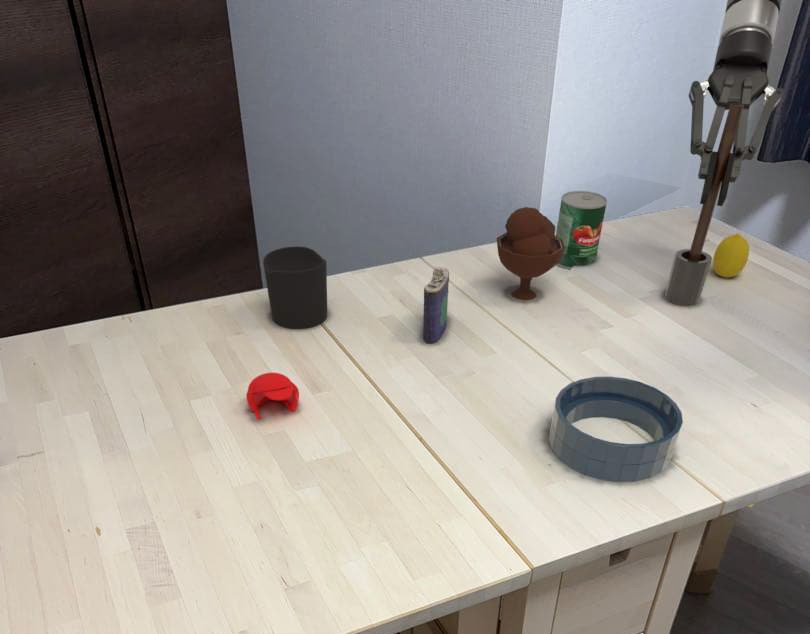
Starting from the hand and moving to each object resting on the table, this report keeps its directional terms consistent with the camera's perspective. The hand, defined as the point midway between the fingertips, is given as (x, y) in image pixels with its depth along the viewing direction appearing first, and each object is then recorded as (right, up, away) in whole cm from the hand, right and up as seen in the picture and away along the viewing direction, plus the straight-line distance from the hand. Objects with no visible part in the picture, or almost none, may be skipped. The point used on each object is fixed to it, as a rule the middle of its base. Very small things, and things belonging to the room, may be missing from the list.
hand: (713, 200), depth 110 cm
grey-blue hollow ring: (-20, -39, -15) cm, 46 cm away
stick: (+1, -5, +10) cm, 11 cm away
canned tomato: (-14, +1, +27) cm, 31 cm away
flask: (-41, -18, +6) cm, 45 cm away
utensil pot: (+1, -10, +15) cm, 18 cm away
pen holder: (-62, -15, +9) cm, 65 cm away
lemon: (+11, -4, +22) cm, 25 cm away
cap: (-63, -33, -10) cm, 72 cm away
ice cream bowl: (-26, -10, +16) cm, 32 cm away
